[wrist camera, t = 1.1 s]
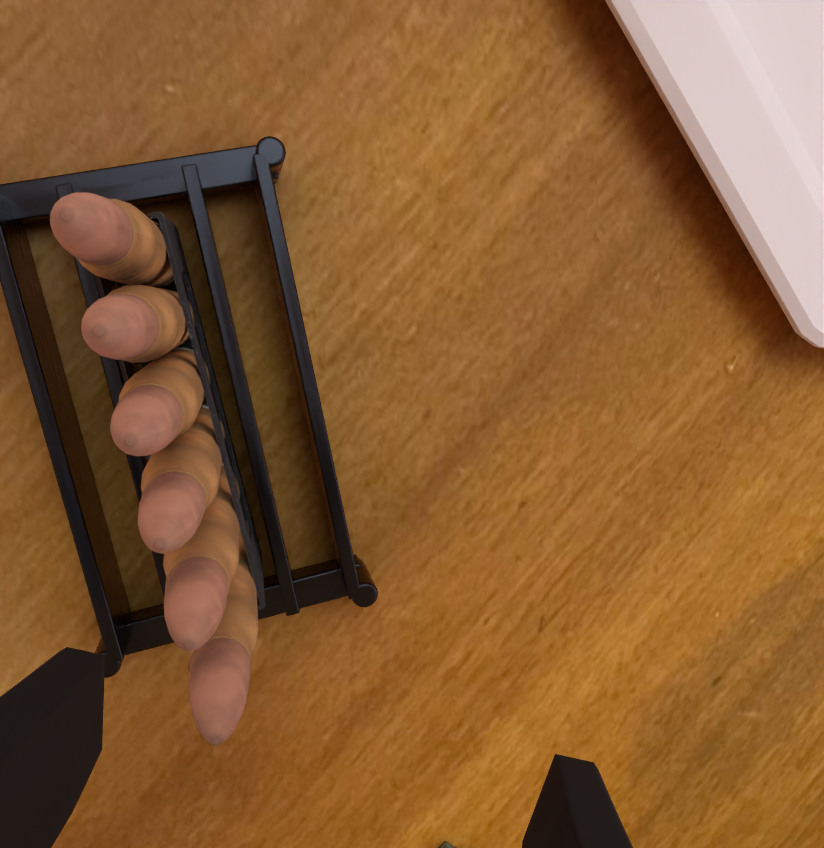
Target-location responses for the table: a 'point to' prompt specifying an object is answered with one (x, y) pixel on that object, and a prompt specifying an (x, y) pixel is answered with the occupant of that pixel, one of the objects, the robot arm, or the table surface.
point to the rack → (14, 267)
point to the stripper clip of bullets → (174, 444)
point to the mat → (446, 845)
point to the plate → (750, 125)
